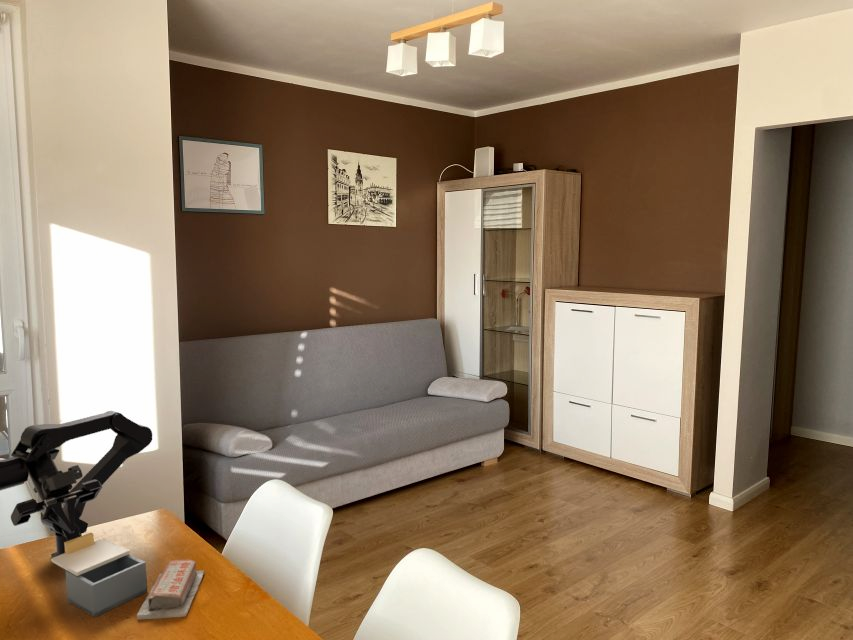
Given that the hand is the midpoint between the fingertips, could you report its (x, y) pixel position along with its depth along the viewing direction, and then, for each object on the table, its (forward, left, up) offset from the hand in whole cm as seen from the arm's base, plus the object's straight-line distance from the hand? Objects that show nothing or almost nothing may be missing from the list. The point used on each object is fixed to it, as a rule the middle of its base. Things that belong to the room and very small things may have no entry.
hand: (72, 532), depth 151 cm
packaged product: (+25, +8, -12) cm, 29 cm away
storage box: (+13, 0, -11) cm, 18 cm away
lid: (+7, 0, -4) cm, 8 cm away
